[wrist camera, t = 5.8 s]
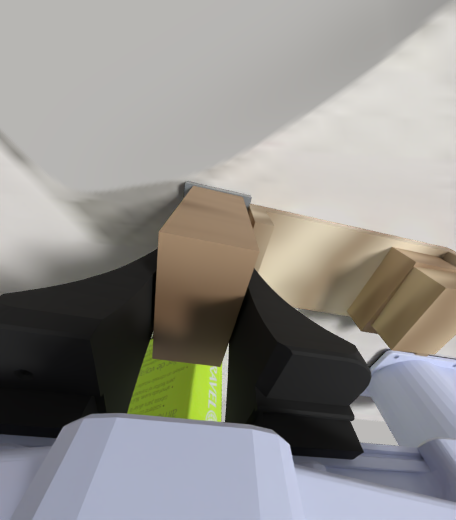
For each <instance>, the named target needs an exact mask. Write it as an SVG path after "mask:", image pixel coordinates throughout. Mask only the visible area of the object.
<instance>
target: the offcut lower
mask: <svg viewBox="0 0 456 520" xmlns="http://www.w3.org/2000/svg"><path fill="white" fill-rule="evenodd" d="M414 267H419V268H427V269H434V270H442V271H449V272H456V267H455V266H454V265H452V264H450V263H448V262H446V261H444V260H443V259H441V258H439V257H437V256H432V255H428V254H423V253H418V252H414V251H409V250H405V249H400V248H395V247H392V248H391V249H390V251H389V252H388V253H387V255H386V256H385V258H384V259H383V261H382V262H381V263H380V265H379V266H378V268H377V269H376V270H375V272H374V273H373V275H372V276H371V278H370V279H369V280H368V282H367V283H366V285H365V286H364V288H363V289H362V290H361V292H360V293H359V295H358V296H357V297H356V299H355V300H354V302H353V303H352V305H351V306H350V307H349V309H348V310H347V312H348V314H349V315H350V317H351V318H352V319H353V321H354V322H355V324H356V325H357V326H358V328H359V329H360V331H363V332H369V333H376V334H378V333H377V332H376V330H375V329H374V328H373V327H372V324H373V323H374V322H375V320H376V319H377V317H378V316H379V315H380V313H381V312H382V310H383V309H384V308H385V306H386V305H387V304H388V302H389V301H390V299H391V298H392V297H393V295H394V294H395V293H396V291H397V290H398V288H399V287H400V286H401V284H402V283H403V282H404V280H405V279H406V277H407V276H408V275H409V273H410V272H411V271H412V269H413V268H414Z"/></svg>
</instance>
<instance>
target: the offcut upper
mask: <svg viewBox="0 0 456 520" xmlns="http://www.w3.org/2000/svg"><path fill="white" fill-rule="evenodd" d="M372 327H373V328H374V329H375V330H376V332H377V333H378V334H379V335H380V337H381V338H382V339H383V340H384V342H385V343H386V344H387V345H388V347H389V348H390V349H391V350H392V351H403V352H413V353H424V354H436V353H437V352H438V351H439V350H440V349H441V348H442V347H443V346H444V345H445V344H446V343H447V342H448V341H450V340H451V339H452V338H453V337H454V336H455V335H456V272H449V271H442V270H434V269H427V268H419V267H414V268H413V269H412V271H411V272H410V273H409V275H408V276H407V277H406V279H405V280H404V282H403V283H402V284H401V286H400V287H399V288H398V290H397V291H396V293H395V294H394V295H393V297H392V298H391V299H390V301H389V302H388V304H387V305H386V306H385V308H384V309H383V310H382V312H381V313H380V315H379V316H378V317H377V319H376V320H375V322H374V323H373V324H372Z"/></svg>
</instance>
